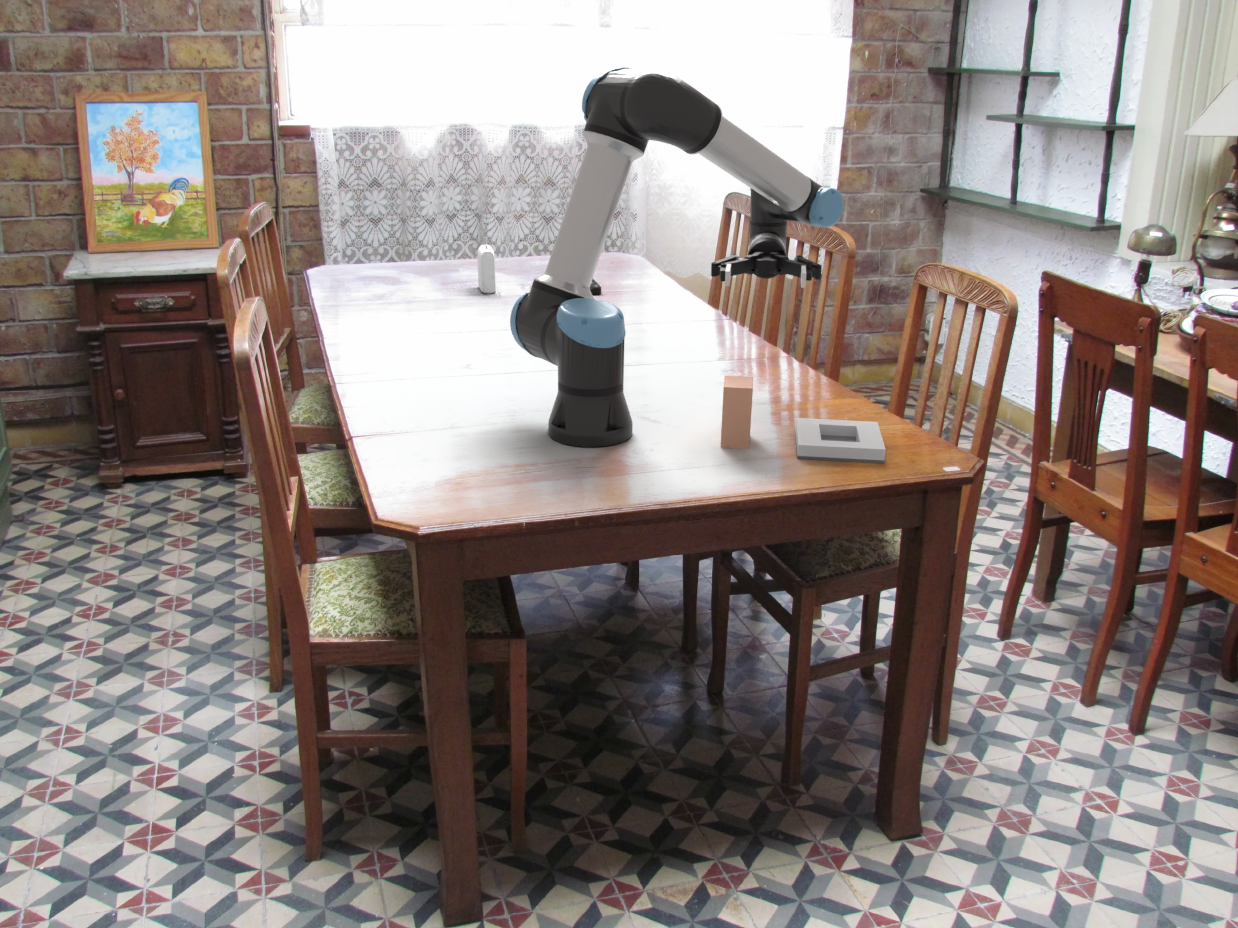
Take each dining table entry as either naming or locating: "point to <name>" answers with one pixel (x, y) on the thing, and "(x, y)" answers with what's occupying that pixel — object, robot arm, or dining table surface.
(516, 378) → the dining table surface
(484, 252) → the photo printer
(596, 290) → the disk drive
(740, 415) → the peach block
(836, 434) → the pocket plate
